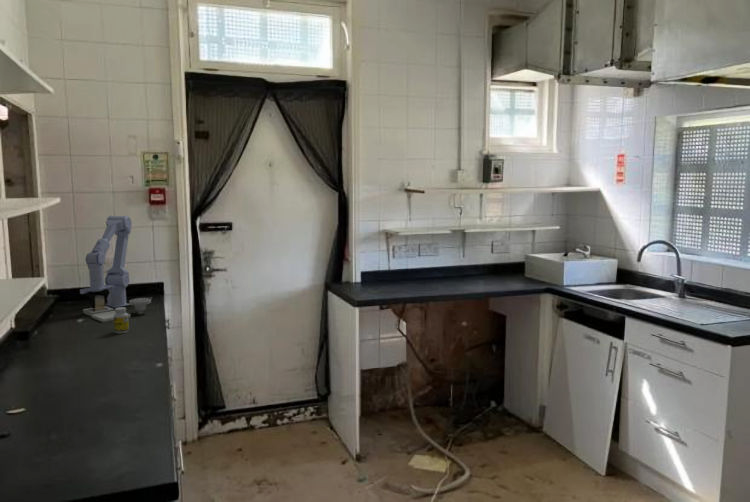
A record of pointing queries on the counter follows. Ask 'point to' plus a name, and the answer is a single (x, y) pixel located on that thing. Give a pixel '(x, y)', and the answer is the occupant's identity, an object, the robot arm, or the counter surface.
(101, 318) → the tray
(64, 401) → the counter surface
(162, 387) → the counter surface
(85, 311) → the holder
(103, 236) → the robot arm
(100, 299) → the peg
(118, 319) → the supplement bottle
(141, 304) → the showerhead
